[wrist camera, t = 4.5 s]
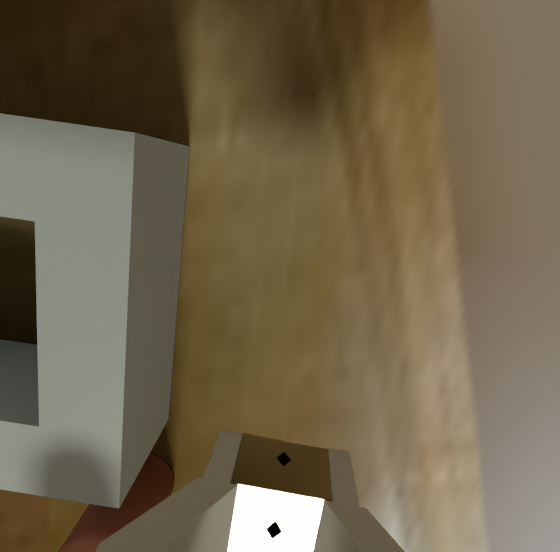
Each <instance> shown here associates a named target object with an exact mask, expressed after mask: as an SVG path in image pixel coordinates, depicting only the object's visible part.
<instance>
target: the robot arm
mask: <svg viewBox="0 0 560 552" xmlns="http://www.w3.org/2000/svg"><path fill="white" fill-rule="evenodd" d="M95 552H404V550H403V549H402V548H401V547H400V546H399V545H398V544H397V543H396V541H395V540H394V539H393V538H392V537H391V536H390V535H389V533H388V532H387V531H386V530H385V529H384V528H383V527H382V526H381V524H380V523H379V522H378V521H377V520H376V519H375V518H374V516H373V515H372V514H371V513H370V512H369V511H368V510H367V509H366V508H363V507H359V502H358V496H357V490H356V485H355V479H354V473H353V467H352V462H351V456H350V453H349V452H348V451H343V450H336V449H329V448H327V449H325V448H319V447H313V446H307V445H301V444H295V443H289V442H285V441H281V440H276V439H271V438H266V437H261V436H256V435H251V434H246V433H241V432H235V431H230V430H224V429H222V430H221V431H220V433H219V436H218V439H217V442H216V445H215V448H214V451H213V453H212V456H211V459H210V462H209V465H208V468H207V471H206V474H205V477H204V478H196V479H194V480H193V481H191V482H190V483H188V484H187V485H185V486H184V487H182V488H181V489H179V490H178V491H176V492H175V493H174V494H172V495H171V496H169V497H168V498H166V499H165V500H163V501H162V502H160V503H159V504H157V505H156V506H154V507H153V508H151V509H150V510H148V511H147V512H145V513H144V514H142V515H141V516H139V517H138V518H136V519H135V520H133V521H132V522H130V523H129V524H127V525H126V526H124V527H123V528H122V529H120V530H119V531H117V532H116V533H114V534H113V535H111V536H110V537H108V538H107V539H105V540H104V541H102V542H101V543H100V544H99V546H98V548H97V549H96V551H95Z"/></svg>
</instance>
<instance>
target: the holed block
mask: <svg viewBox="0 0 560 552" xmlns="http://www.w3.org/2000/svg"><path fill="white" fill-rule="evenodd" d="M188 159H189V146H185V145H181V144H177V143H173V142H170V141H166V140H162V139H158V138H154V137H150V136H146V135H142V134H138V133H134V132H127V131H120V130H113V129H106V128H99V127H92V126H85V125H78V124H71V123H64V122H57V121H50V120H43V119H36V118H29V117H22V116H16V115H9V114H2V113H0V216H1V217H8V218H15V219H21V220H28V221H35V259H36V306H37V345H34V344H28V343H22V342H15V341H9V340H2V339H0V489H2V490H9V491H15V492H21V493H27V494H33V495H39V496H45V497H51V498H57V499H64V500H70V501H76V502H82V503H88V504H94V505H100V506H106V507H112V508H120V506H121V504H122V502H123V501H124V499H125V497H126V495H127V493H128V492H129V490H130V488H131V486H132V484H133V483H134V481H135V479H136V477H137V475H138V474H139V472H140V470H141V468H142V466H143V464H144V463H145V461H146V459H147V457H148V455H149V454H150V452H151V450H152V448H153V446H154V445H155V443H156V441H157V439H158V437H159V436H160V434H161V432H162V430H163V428H164V427H165V425H166V423H167V421H168V419H169V408H170V395H171V382H172V369H173V356H174V343H175V330H176V317H177V304H178V291H179V277H180V264H181V251H182V238H183V225H184V212H185V199H186V186H187V173H188Z"/></svg>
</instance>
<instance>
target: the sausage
mask: <svg viewBox="0 0 560 552" xmlns="http://www.w3.org/2000/svg"><path fill="white" fill-rule="evenodd" d="M173 487H174V476H173V473H172V471H171V469H170V467H169V466H168V465H167V463H166V462H165V461H163V460H162V459H161V458H159V457H158V456H156V455H154V454H151V453H150V454H149V455H148V457H147V459H146V461H145V463H144V464H143V466H142V468H141V470H140V472H139V474H138V475H137V477H136V479H135V481H134V483H133V484H132V486H131V488H130V490H129V492H128V493H127V495H126V497H125V499H124V501H123V502H122V504H121V506H120V508H112V507H106V506H100V505H94V504H89V506H88V507H87V509H86V510H85V512H84V513H83V515H82V517H81V518H80V520H79V521H78V523H77V524H76V526H75V527H74V529H73V530H72V532H71V533H70V535H69V536H68V538H67V540H66V541H65V543H64V544H63V546H62V547H61V549H60V550H59V552H95V551H96V549H97V548H98V546H99V544H100V543H101V542H102V541H104V540H105V539H107V538H108V537H110V536H111V535H113V534H114V533H116V532H117V531H119V530H120V529H122V528H123V527H124V526H126V525H127V524H129V523H130V522H132V521H133V520H135V519H136V518H138V517H139V516H141V515H142V514H144V513H145V512H147V511H148V510H150V509H151V508H153V507H154V506H156V505H157V504H159V503H160V502H162V501H163V500H165V499H166V498H168V497H169V496H170V495H171V492H172V490H173Z"/></svg>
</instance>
